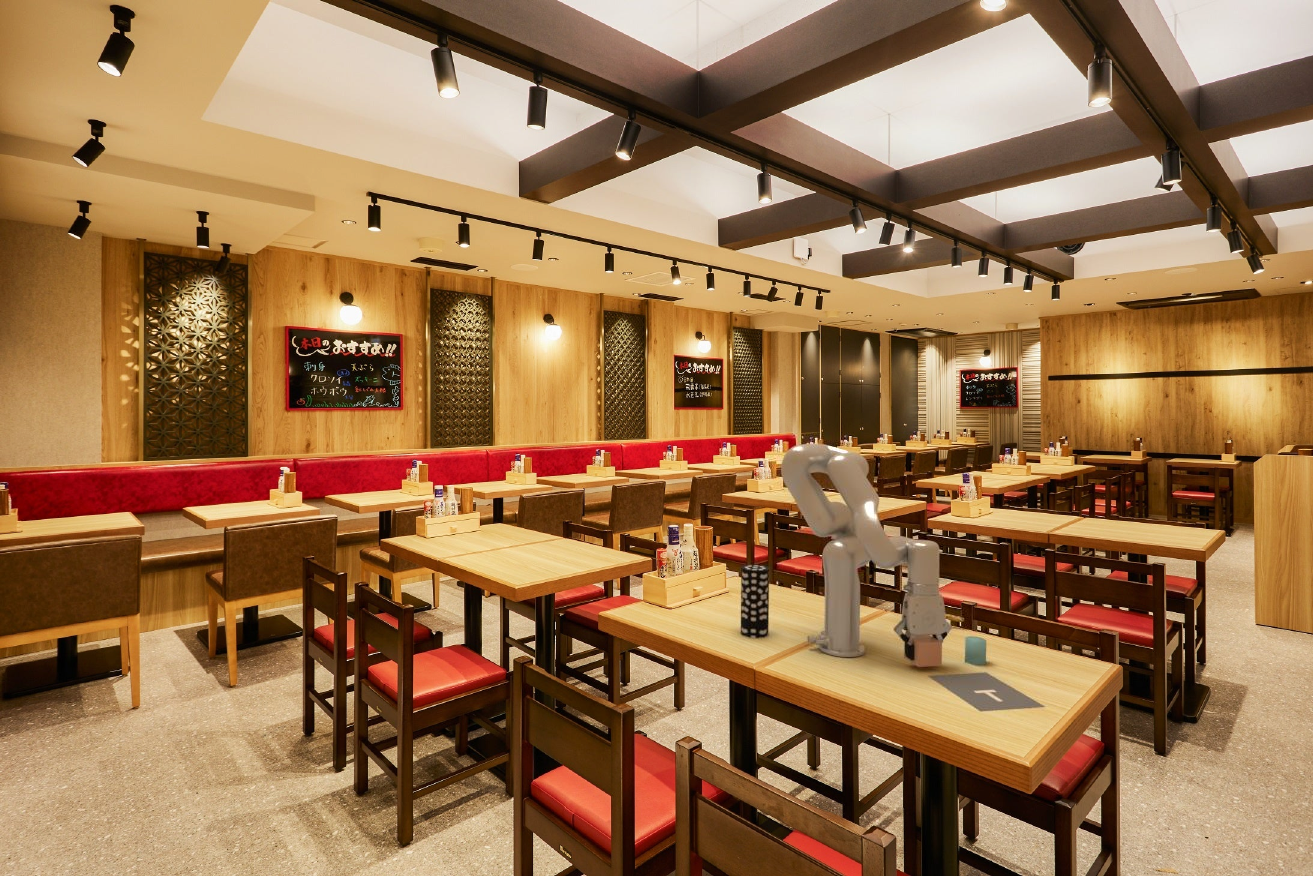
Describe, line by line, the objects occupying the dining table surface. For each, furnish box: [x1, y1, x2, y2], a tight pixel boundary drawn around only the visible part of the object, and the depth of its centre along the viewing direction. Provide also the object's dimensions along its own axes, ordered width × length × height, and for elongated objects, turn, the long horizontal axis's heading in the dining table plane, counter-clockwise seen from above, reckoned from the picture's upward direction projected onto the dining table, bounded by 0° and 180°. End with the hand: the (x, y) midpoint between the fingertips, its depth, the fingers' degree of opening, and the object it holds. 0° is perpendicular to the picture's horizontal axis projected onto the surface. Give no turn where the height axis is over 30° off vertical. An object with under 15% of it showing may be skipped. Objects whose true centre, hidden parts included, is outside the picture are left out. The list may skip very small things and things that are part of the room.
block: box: [903, 635, 943, 668], centre depth 166 cm, size 6×6×6 cm
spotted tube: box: [740, 564, 770, 639], centre depth 195 cm, size 8×8×20 cm
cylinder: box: [964, 636, 987, 667], centre depth 170 cm, size 5×5×7 cm
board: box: [928, 671, 1046, 712], centre depth 152 cm, size 16×20×1 cm
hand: (922, 657), depth 166 cm, fingers closed on block, 6 cm apart
